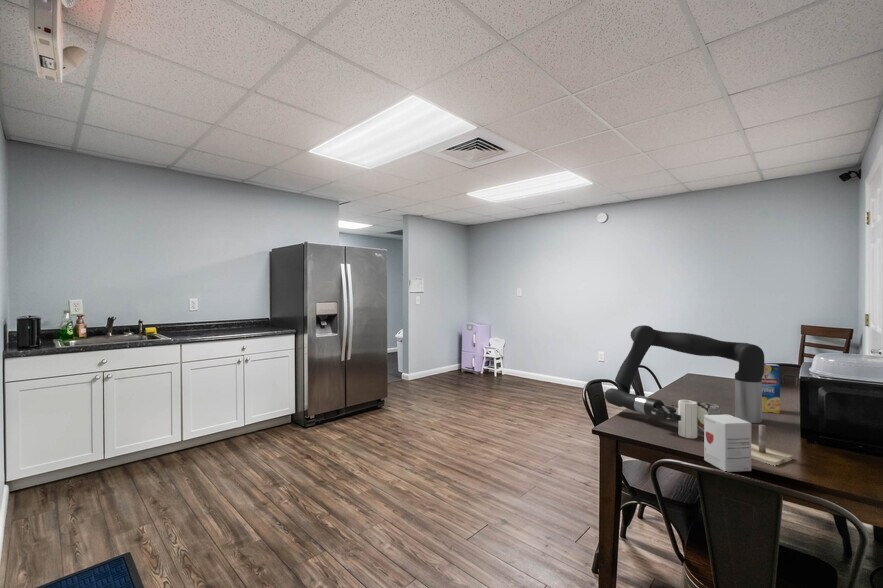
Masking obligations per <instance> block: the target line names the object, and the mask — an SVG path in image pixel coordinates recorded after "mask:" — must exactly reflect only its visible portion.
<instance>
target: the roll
mask: <svg viewBox="0 0 883 588" xmlns="http://www.w3.org/2000/svg"><path fill="white" fill-rule="evenodd" d="M677 406H678V415H680V416H681V421H677V424H678V425H677V426H678V428H677V429H678V431H677V432H678V433H677V435H679V437H683V438H686V439H697V438H698V426H697V402H696V400H695V401H693V400H689V399H679V400H678V402H677Z"/></svg>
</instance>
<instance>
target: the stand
mask: <svg viewBox="0 0 883 588" xmlns="http://www.w3.org/2000/svg"><path fill="white" fill-rule="evenodd" d="M766 427H767V426H766V425H765V424H758V444H755V443H752V442H751V460H754V461H757V462H760V463H764V464H766V463H767V465H769V464H770V466H773V465H774V466H773V467H776V465H777V466H779V465H782V464H785V463H787V462H790V461H792V459H793V460H794V455H793V454H789V453H786V452H783V451H779V450H775V449H771V448H769V447H767V446H766V445H767V443H766V440H767V439H766V437H767V436H766V434H767V433H766V432H767V430H766V429H767V428H766Z"/></svg>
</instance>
